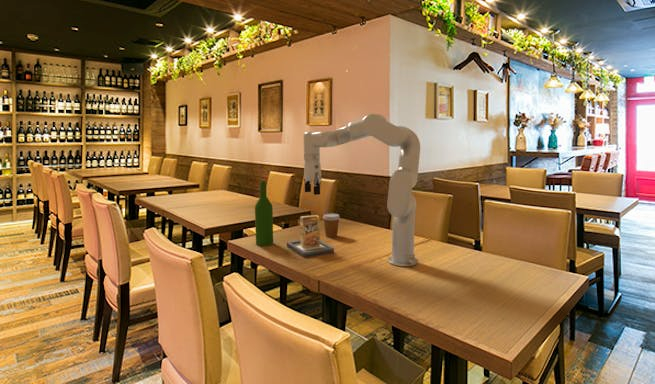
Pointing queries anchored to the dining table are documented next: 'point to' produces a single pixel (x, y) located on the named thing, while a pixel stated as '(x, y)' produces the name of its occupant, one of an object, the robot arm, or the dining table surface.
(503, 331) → the dining table surface
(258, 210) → the wine bottle
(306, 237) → the candy box
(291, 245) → the gray tray
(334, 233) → the disposable coffee cup
